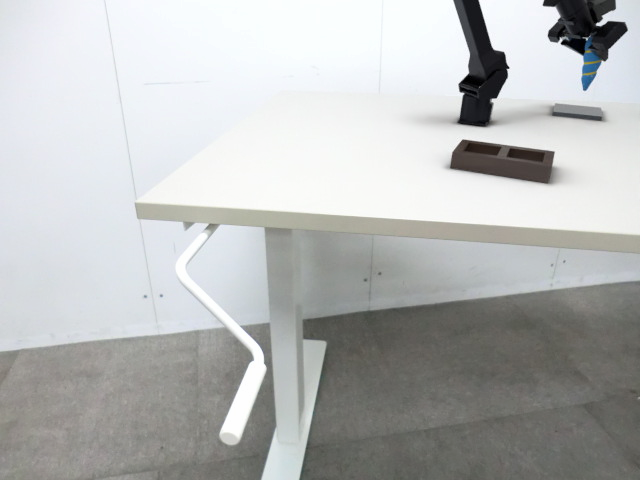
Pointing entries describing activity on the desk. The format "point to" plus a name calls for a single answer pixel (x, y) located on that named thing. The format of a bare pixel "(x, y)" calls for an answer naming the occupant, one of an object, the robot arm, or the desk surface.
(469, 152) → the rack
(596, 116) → the coaster
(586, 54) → the ornament
